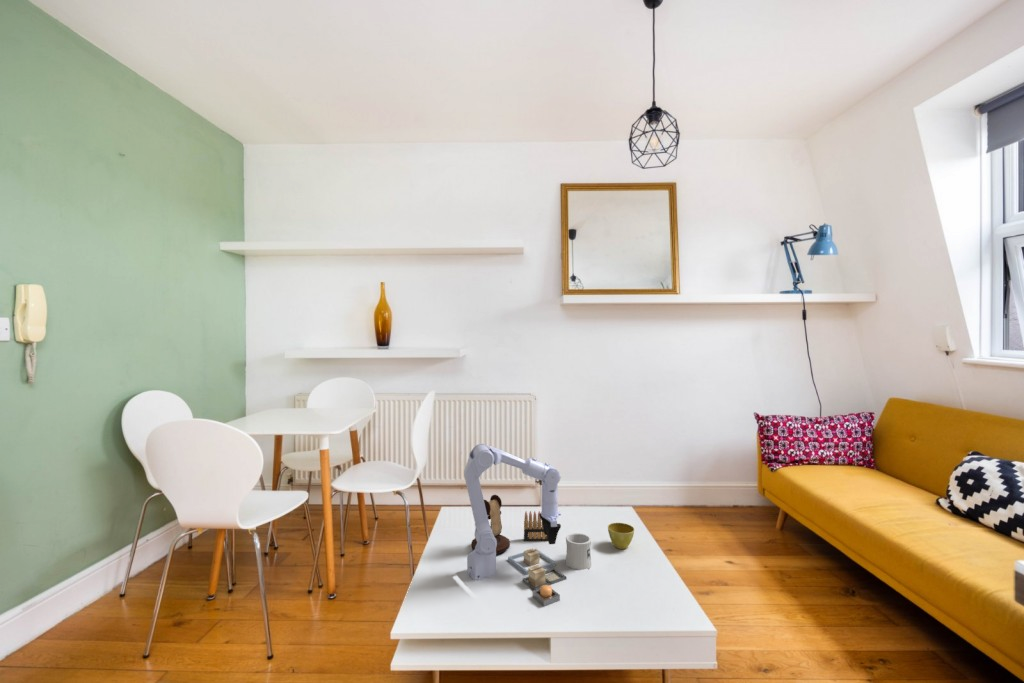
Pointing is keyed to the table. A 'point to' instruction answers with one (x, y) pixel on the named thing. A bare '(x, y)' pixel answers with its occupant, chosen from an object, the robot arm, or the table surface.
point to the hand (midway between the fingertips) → (549, 538)
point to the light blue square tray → (510, 558)
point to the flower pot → (620, 534)
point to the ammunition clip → (533, 528)
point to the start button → (545, 591)
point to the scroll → (495, 524)
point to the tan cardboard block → (531, 557)
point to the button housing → (547, 601)
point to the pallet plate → (547, 579)
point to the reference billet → (536, 575)
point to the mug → (578, 551)
